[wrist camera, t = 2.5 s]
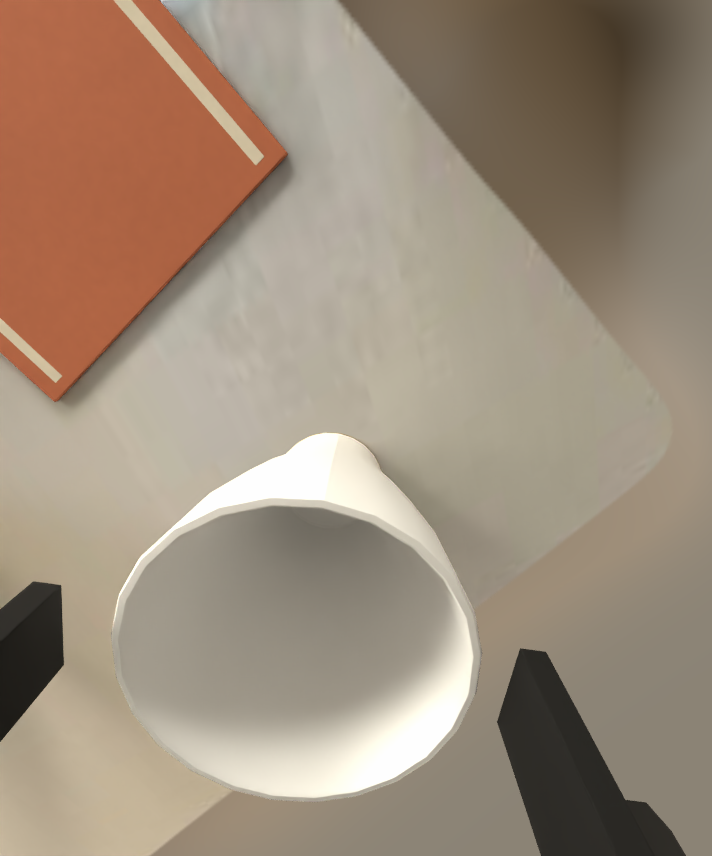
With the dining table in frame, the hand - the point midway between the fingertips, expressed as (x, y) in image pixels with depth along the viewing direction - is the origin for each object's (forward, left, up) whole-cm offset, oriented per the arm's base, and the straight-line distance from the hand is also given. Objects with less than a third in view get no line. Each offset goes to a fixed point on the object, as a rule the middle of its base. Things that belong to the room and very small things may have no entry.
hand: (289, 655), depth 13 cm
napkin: (+17, -15, -13) cm, 26 cm away
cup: (0, 0, -13) cm, 13 cm away
